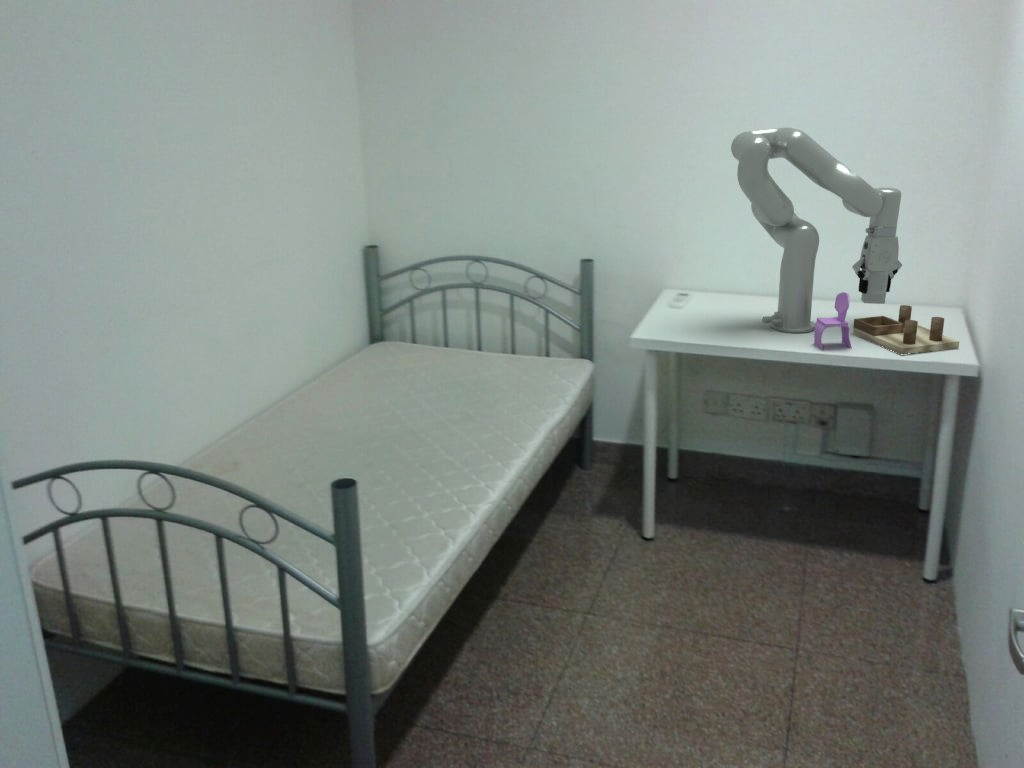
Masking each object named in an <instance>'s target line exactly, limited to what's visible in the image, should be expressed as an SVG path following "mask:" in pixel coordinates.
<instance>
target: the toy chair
mask: <svg viewBox="0 0 1024 768" xmlns="http://www.w3.org/2000/svg"><path fill="white" fill-rule="evenodd" d="M849 307H850V294H849V292H845V291H844V292H840V293H838V294H837V295H836V297H835V301H834V310H835V311H836V312H837V316H833V317H816V321H815V322H814V323H815V329H814V330H813V333H814V336H813V341H814V342H813V343H814V344H815V346H817V347H818V348H819V349H820V350H822V351H824V346H823V341H822V338H823V337H822V336H823V333H824V331H825V329H827V328H835V327H840V329H841V343H842V344H843V345H845V346H846V347H848V348H849V349H850V348H851V350H853V347H852V344H851V343H852V342H851V340H850V330H851V329H850V327H849V322H848V321H846V318H847V313H848V312H847V311H848V310H849Z"/></svg>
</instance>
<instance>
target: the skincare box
mask: <svg viewBox="0 0 1024 768" xmlns="http://www.w3.org/2000/svg"><path fill="white" fill-rule="evenodd" d="M889 267H890V264H889V265H888V270H887V271H884V272H871V273H870V275H869V276H868V278H867V280H868V289H867V293H866V294H864V293H861V297H860V300H861V302H863V303H864V304H875V305H876V304H882V305H883V304H885V303H886V296H887V292H886V290H887V283H888V275H889ZM865 273H866V272H865Z"/></svg>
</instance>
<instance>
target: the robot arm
mask: <svg viewBox="0 0 1024 768" xmlns="http://www.w3.org/2000/svg"><path fill="white" fill-rule="evenodd" d="M730 146H731V147H730V152H731V154H732V156H733V158H734V159H735V160H736V161H738V163H737V164H738V165H737V173H736V174H737V182H738V185H739V187H740V189H741V191H742V192H743V194H744V195H745V196H746V198H747V199H748V200H749V202H750V203H751V204H750V205H751V206H750V207H751V213H752V214H753V216H754V218H755V219H756V220H757V222H758V223H759V224H760V225H761V226H762V227H763V229H764V230H765V231H766V232H767V234H768V235H769V236H770V237H771V238H772V239H773V240H774V242H775V243H776V244H778V245H779V246H780V247H782V248H783V254H782V258H781V262H780V269H779V271H780V272H779V284H778V285H779V288H778V289H779V290H778V299H777V300H778V304H777V311H773V312H774V313H773V314H772V315H771V316H769V315H768V316H762V318H761V322H762V323H763V324H771V328H773V330H776V331H780V332H783V333H795V334H800V333H801V334H802V333H809V332H812V331H813V332H814V331H815V323H816V322H813V321H812V320H811V319H812V308H813V307H812V306H813V295H814V294H813V293H814V281H815V279H814V278H815V267H816V260H817V254H818V250H819V246H820V234H819V231H818V229H817V228H816V227H815V225H813V223H811V222H809V221H807V220H804V219H803V218H802V219H801V218H800V217H799V216H798V215H797V214H796V213H795V208H794V203H793V202H792V200H791V199H790V198H789V197H788V195H786V193H785V192H784V191H783V190H782V189H781V188H780V186H779V185H778V183H776V181H775V180H774V179H773V177H772V175H771V174H770V172H769V168H768V167H769V160H772V159H773V160H774V159H780V158H782V159H785V160H786V161H788V162H789V163H790V164H791V165H793V166H794V167H795V168H796V169H797V170H799V171H800V172H801V173H802V174H803V175H805V176H806V177H807V178H808V179H809V180H810V181H812V183H814V184H816V185H817V186H819V187H821V188H822V189H824V190H827V191H828V192H830V193H832V194H834V195H836V196H837V197H838V198H840V199H841V202H842V204H843V206H844V208H845V209H846V210H847V211H848V212H851V213H853V214H856V215H857V216H858V215H859V216H861V217H863V218H869V224H868V227H867V228H865V233H866V234H867V235H866V236H865V239H864V241H863V244H862V248H861V253H860V257H859V258H860V259H859V260H857V261H856V262H855V263H854V264H853V265H852V267H851V268H852V270H853V271H854V273H855V275H856V276H857V278H858V279H859V281H858V282H859V283H858V292H859V293H861V294H862V293H864V294H866V293H867V289H868V280H867V278H868V276H869V275H870V273H871V272H884V271H887V270H888V265H889V264H890V267H889V275H888V283H887V290H886V293H890V291H891V285H892V279H894V278H895V276H896V274H897V273H898V272H899V270H900V269H901V268H902V267H903V263H902V262H900V260H899V252H900V251H899V249H900V247H899V246H900V245H899V237H898V236H897V228H898V220H899V216H900V215H899V213H900V206H901V200H902V191H901V190H900V189H898V188H895V187H878V188H875V187H872V185H871V184H869V183H868V181H866V180H865V179H863V178H862V177H861V176H860V175H858V174H857V173H856V172H854V171H853V170H851V169H850V168H849V167H847V166H846V165H845V164H844V163H842V162H841V161H840V160H839V159H838V158H836V157H834V156H833V155H832V154H831V153H829V152H828V151H827V150H826V149H825V148H824V147H822V146H821V145H820V144H819V143H818V142H817V141H816V140H815V139H813V138H812V137H810V135H808V134H807V133H806V132H804V131H803V130H800V129H797V128H792V127H778V128H771V129H761V130H759V129H758V130H751V131H750V130H748V131H744V132H741V133H739V134H737V135H736V136H735V137H734V139H732V141H731V144H730ZM865 272H866V273H865Z"/></svg>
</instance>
